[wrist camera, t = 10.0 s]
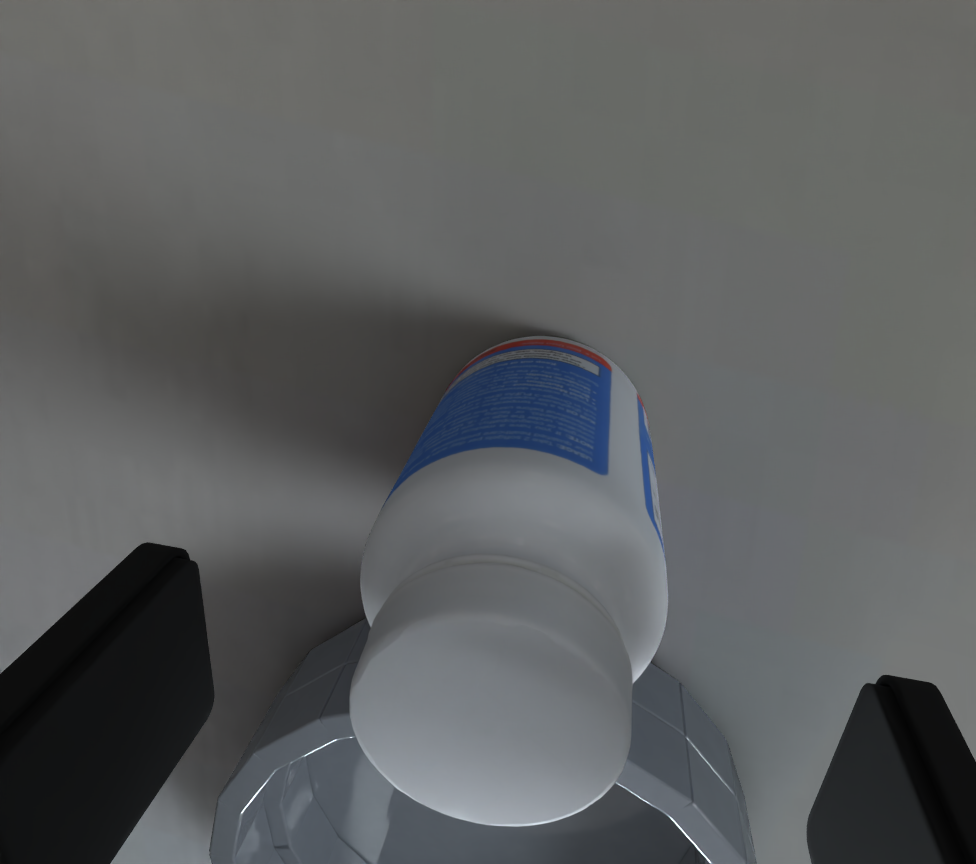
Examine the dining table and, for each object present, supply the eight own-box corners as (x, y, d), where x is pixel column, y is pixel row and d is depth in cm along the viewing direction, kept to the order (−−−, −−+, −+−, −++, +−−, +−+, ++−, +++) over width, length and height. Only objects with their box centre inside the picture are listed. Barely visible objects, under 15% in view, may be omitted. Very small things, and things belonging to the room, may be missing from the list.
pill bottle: (400, 424, 19) (218, 694, 10) (544, 285, 17) (468, 479, 8) (543, 557, 20) (486, 905, 11) (697, 441, 18) (771, 762, 9)
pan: (668, 544, 19) (681, 660, 15) (784, 918, 25) (817, 1077, 21) (197, 641, 24) (112, 752, 20) (382, 941, 29) (344, 1077, 25)
